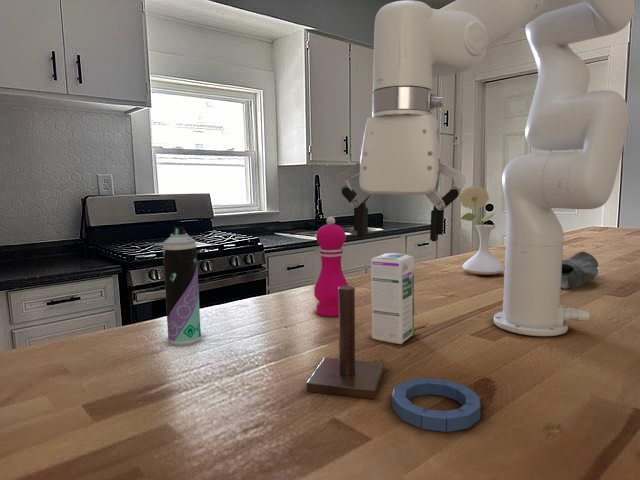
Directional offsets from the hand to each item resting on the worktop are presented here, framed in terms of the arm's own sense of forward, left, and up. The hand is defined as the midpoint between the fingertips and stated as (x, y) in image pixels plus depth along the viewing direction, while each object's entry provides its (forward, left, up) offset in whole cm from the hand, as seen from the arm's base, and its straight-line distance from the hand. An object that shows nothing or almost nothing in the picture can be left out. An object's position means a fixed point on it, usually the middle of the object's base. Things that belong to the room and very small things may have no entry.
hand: (397, 238), depth 62 cm
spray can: (+37, -7, -20) cm, 43 cm away
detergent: (-39, -71, -20) cm, 83 cm away
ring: (-6, +7, -20) cm, 22 cm away
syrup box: (+2, -17, -20) cm, 26 cm away
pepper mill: (+16, -29, -20) cm, 39 cm away
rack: (+6, +2, -20) cm, 21 cm away
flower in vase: (-16, -76, -20) cm, 80 cm away
